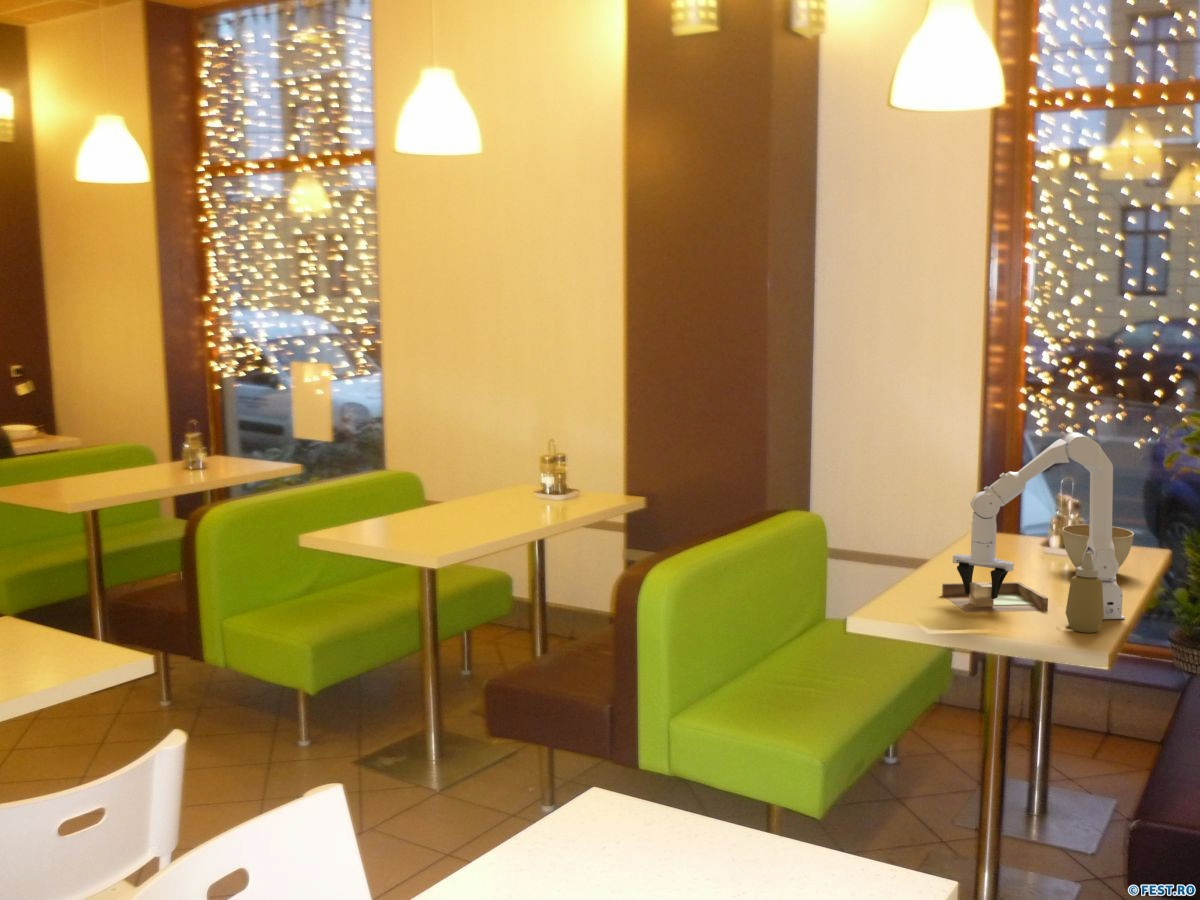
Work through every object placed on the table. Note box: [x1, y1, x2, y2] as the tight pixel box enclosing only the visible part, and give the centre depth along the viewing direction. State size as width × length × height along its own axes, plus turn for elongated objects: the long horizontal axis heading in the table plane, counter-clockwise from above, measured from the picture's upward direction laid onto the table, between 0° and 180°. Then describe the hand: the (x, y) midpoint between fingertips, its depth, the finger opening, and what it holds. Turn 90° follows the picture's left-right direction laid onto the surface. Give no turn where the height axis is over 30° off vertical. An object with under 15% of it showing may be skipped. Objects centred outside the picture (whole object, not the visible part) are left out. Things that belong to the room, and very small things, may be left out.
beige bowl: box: [1062, 524, 1135, 569], centre depth 312 cm, size 18×18×12 cm
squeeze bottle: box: [1065, 552, 1104, 633], centre depth 257 cm, size 8×8×18 cm
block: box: [969, 581, 994, 607], centre depth 277 cm, size 4×4×5 cm
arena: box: [941, 581, 1049, 613], centre depth 279 cm, size 16×20×4 cm
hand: (981, 595), depth 277 cm, fingers closed on block, 6 cm apart
